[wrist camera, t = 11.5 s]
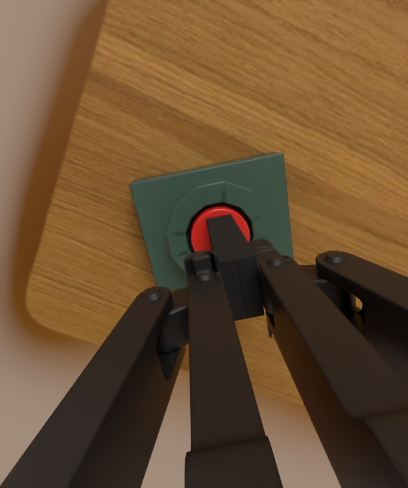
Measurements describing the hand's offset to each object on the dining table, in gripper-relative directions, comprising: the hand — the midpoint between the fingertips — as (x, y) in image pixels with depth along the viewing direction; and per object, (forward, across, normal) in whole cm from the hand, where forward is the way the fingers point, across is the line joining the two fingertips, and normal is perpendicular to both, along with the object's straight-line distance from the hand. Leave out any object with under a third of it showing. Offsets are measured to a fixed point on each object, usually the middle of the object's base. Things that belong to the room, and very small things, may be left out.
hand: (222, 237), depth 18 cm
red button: (+2, 0, 0) cm, 2 cm away
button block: (+5, 0, 0) cm, 5 cm away
